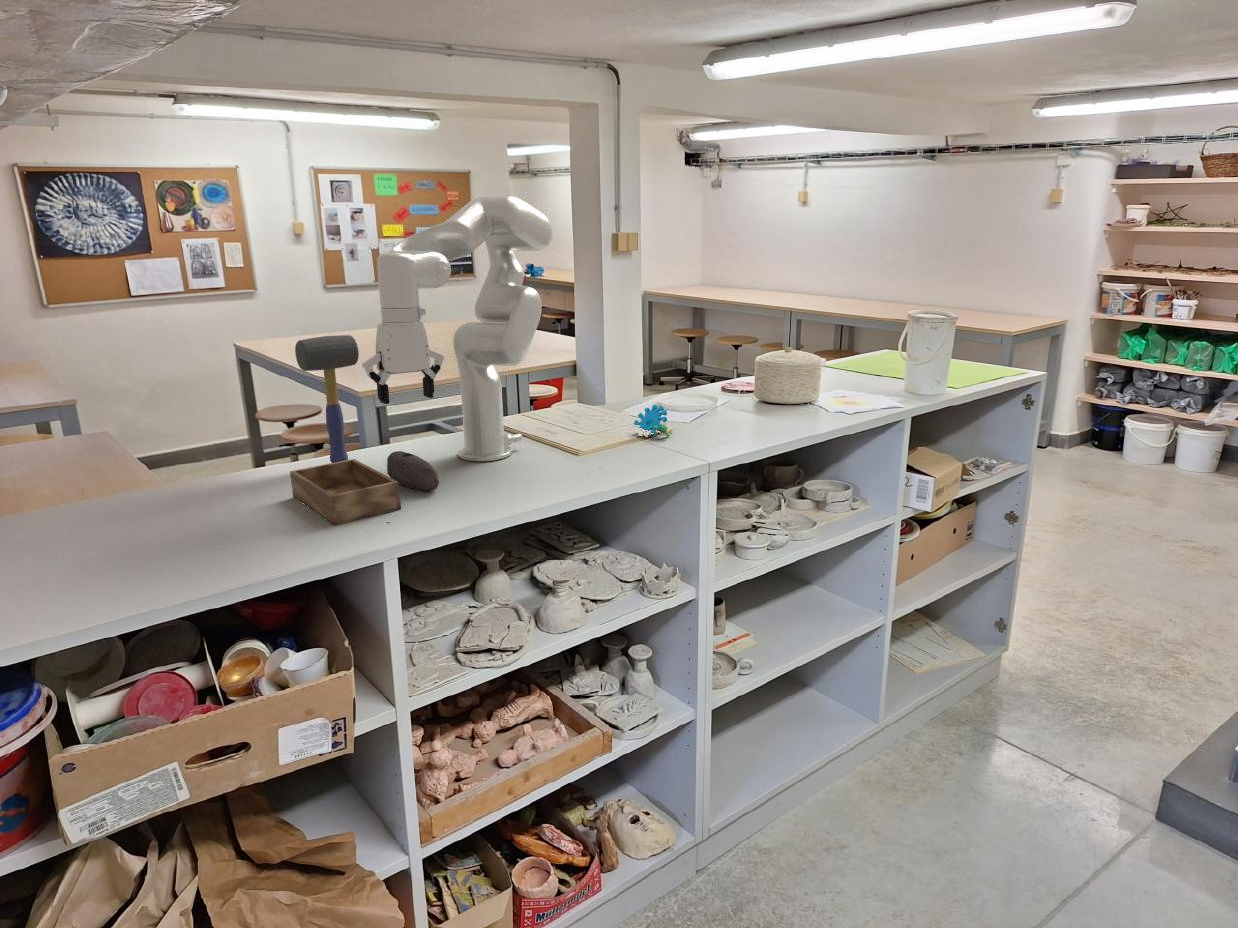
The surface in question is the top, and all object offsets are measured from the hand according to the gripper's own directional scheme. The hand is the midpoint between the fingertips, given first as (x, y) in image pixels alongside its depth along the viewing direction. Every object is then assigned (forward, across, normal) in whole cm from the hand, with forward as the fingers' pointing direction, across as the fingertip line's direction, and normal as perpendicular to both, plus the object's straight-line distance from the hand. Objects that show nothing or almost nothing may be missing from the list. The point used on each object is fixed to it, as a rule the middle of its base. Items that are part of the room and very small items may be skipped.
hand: (407, 400), depth 172 cm
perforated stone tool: (+19, -1, 0) cm, 19 cm away
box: (+19, +15, 0) cm, 24 cm away
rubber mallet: (+19, +6, -27) cm, 33 cm away
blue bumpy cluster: (+18, -67, 0) cm, 69 cm away
